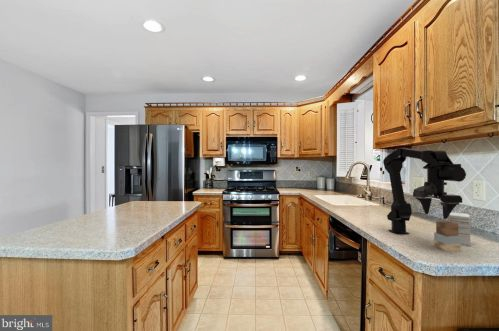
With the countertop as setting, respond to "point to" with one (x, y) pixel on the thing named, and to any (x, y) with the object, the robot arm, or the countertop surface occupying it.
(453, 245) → the tower base
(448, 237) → the tower mid
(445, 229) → the walnut cube
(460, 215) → the supplement box
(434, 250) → the countertop surface
